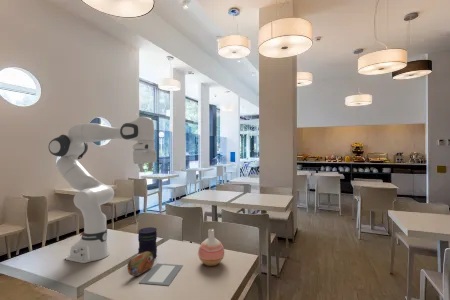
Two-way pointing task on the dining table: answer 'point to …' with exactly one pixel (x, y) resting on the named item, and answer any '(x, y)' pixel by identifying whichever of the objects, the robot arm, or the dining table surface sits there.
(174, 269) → the mat
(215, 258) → the vase
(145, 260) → the tin
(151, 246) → the blue oil drum
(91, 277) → the dining table surface
